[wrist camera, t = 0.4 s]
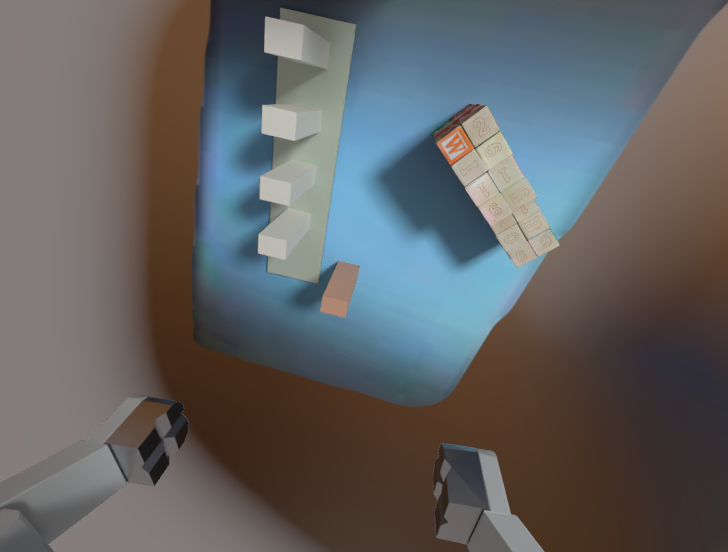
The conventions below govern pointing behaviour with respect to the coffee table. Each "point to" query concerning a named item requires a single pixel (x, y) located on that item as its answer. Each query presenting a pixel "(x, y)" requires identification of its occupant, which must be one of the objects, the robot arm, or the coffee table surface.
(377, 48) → the coffee table surface
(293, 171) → the domino
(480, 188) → the stack of blocks
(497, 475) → the robot arm
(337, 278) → the domino
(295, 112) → the domino
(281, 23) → the domino
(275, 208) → the mat
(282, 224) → the domino
